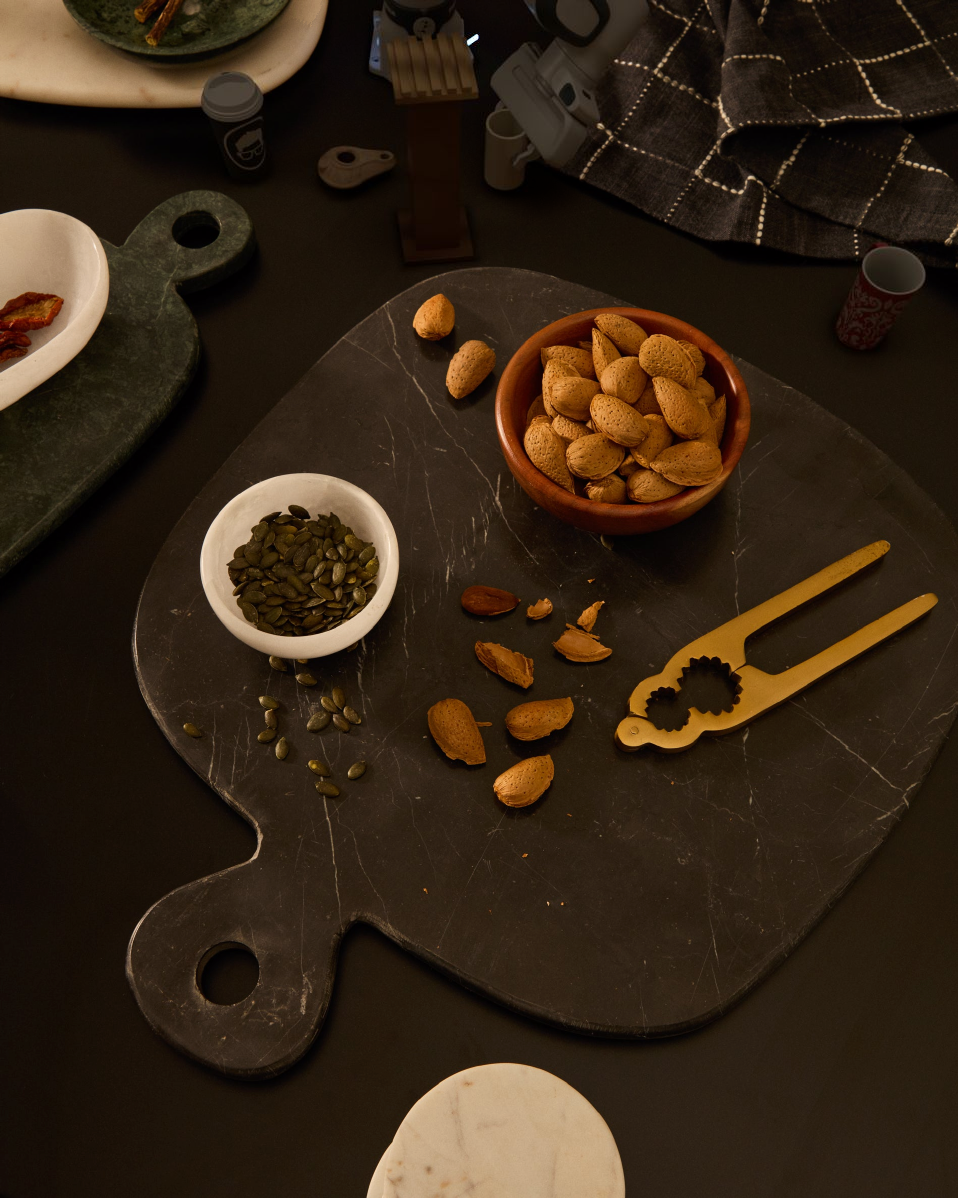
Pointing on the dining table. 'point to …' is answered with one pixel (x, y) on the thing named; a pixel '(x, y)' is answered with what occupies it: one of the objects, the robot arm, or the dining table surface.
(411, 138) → the stand
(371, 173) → the pottery oil lamp
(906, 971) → the dining table surface
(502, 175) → the enamel cup
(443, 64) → the wooden slatted trivet
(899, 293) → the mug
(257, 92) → the coffee cup
